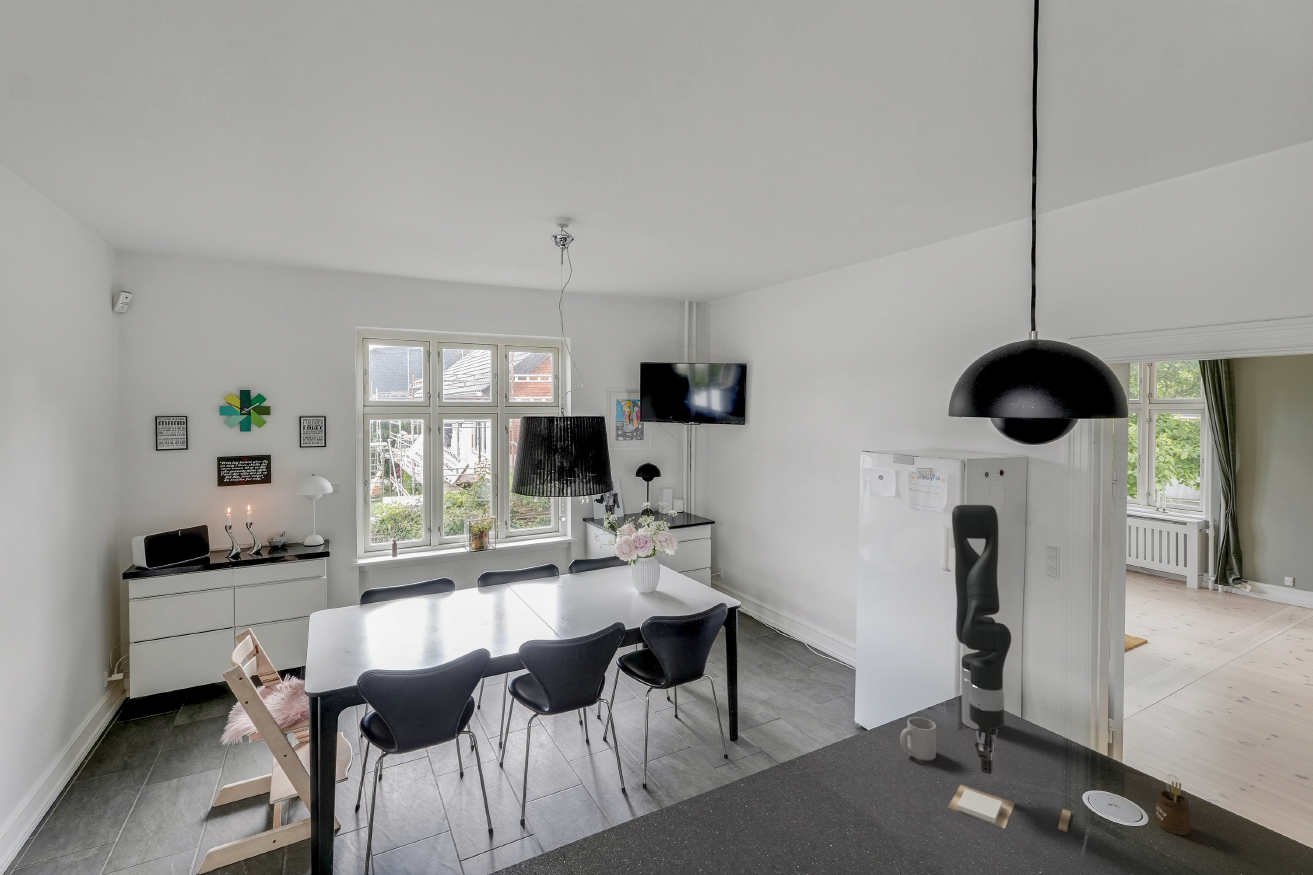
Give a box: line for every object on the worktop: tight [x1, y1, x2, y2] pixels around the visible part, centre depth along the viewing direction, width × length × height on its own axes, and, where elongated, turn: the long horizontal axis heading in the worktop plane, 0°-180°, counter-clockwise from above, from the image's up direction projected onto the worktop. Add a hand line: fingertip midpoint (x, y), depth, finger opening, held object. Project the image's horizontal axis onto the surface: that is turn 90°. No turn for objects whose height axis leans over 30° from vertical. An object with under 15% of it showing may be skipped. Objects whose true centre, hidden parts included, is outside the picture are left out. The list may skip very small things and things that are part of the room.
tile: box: [957, 789, 1002, 823], centre depth 143 cm, size 1×8×8 cm
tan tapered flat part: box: [1057, 808, 1072, 833], centre depth 136 cm, size 13×4×1 cm, turn 140°
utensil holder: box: [1155, 773, 1192, 836], centre depth 136 cm, size 6×6×12 cm
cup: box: [899, 716, 937, 761], centre depth 167 cm, size 7×10×9 cm
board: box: [947, 784, 1016, 829], centre depth 144 cm, size 12×12×1 cm
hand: (986, 771), depth 149 cm, fingers closed
